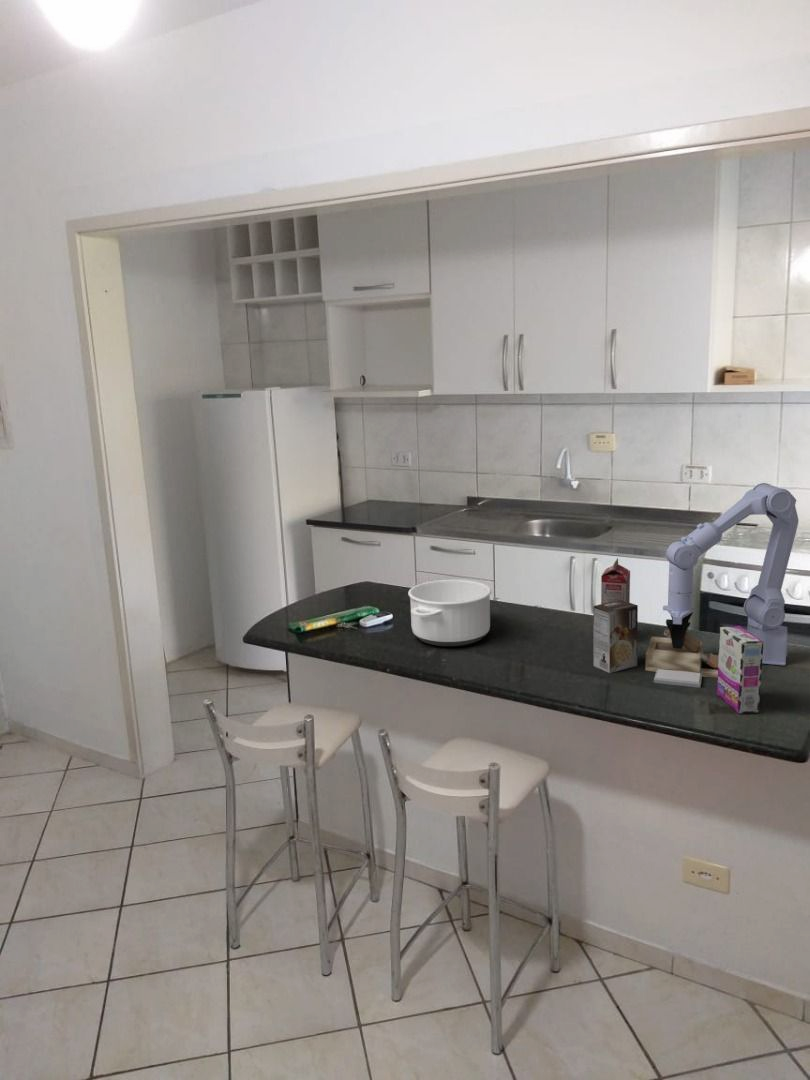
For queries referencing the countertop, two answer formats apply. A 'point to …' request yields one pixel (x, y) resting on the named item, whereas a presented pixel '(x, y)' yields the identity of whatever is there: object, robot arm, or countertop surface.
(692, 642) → the walnut block
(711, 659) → the lever
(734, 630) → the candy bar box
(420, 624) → the pot
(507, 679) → the countertop surface
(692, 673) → the grey pad
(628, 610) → the coffee box
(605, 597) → the juice carton
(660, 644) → the pocket board
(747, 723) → the countertop surface
